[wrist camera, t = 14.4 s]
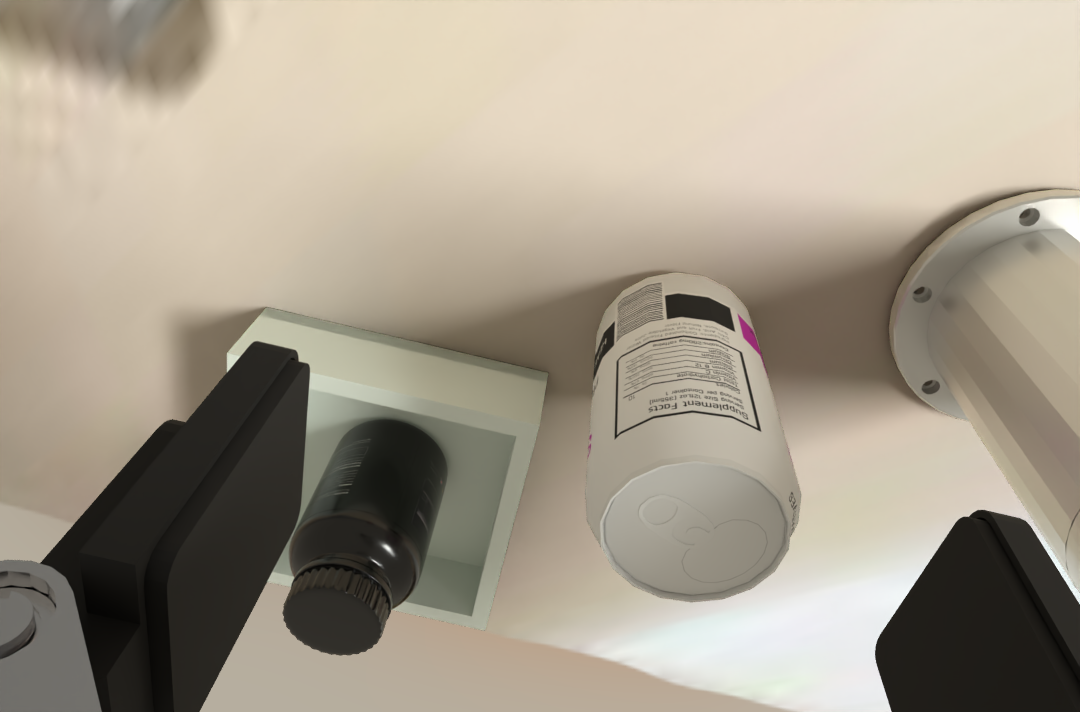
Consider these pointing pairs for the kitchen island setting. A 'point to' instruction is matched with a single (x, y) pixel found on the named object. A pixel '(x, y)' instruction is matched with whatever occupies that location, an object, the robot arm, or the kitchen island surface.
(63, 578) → the robot arm
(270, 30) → the kitchen island surface
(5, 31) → the kitchen island surface
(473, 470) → the bin
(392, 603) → the supplement bottle
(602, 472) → the supplement can
